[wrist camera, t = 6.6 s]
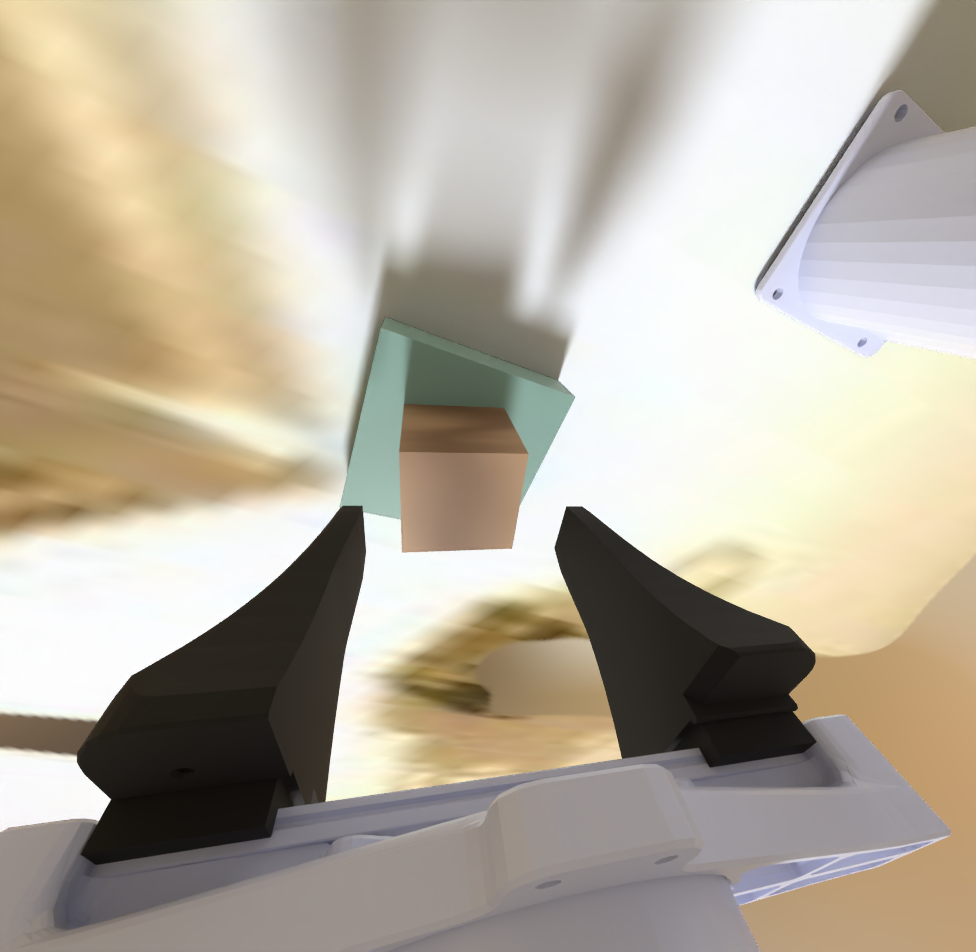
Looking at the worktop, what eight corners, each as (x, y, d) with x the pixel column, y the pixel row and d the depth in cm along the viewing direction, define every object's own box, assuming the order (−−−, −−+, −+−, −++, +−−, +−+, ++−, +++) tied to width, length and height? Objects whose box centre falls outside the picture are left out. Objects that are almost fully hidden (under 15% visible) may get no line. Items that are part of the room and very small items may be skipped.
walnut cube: (504, 407, 17) (528, 453, 13) (493, 489, 19) (511, 548, 15) (403, 403, 16) (399, 452, 12) (405, 489, 18) (402, 552, 14)
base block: (555, 377, 20) (575, 397, 17) (493, 507, 24) (502, 539, 21) (386, 315, 17) (380, 327, 14) (349, 475, 21) (339, 507, 18)
